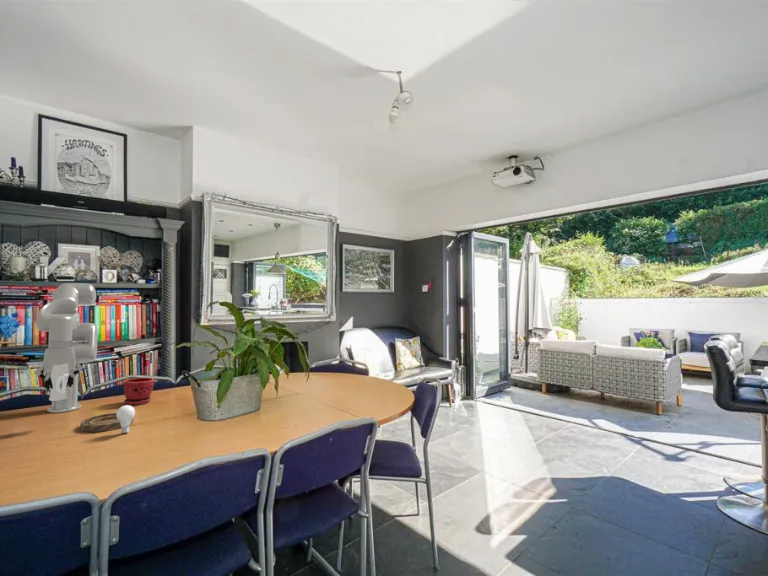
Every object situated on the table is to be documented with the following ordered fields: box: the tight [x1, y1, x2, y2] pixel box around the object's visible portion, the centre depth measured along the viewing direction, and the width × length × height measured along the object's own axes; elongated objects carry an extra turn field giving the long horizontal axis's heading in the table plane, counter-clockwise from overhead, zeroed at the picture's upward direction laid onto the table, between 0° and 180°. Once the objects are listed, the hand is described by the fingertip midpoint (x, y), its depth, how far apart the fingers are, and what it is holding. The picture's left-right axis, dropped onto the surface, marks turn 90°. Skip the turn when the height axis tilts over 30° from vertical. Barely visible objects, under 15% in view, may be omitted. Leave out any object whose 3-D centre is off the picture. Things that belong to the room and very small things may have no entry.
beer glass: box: [48, 363, 70, 402], centre depth 160 cm, size 7×7×15 cm
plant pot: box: [123, 377, 155, 406], centre depth 198 cm, size 13×13×12 cm
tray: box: [80, 412, 135, 433], centre depth 163 cm, size 18×18×3 cm
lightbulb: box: [115, 404, 136, 434], centre depth 153 cm, size 6×6×11 cm
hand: (59, 387), depth 160 cm, fingers closed on beer glass, 6 cm apart
